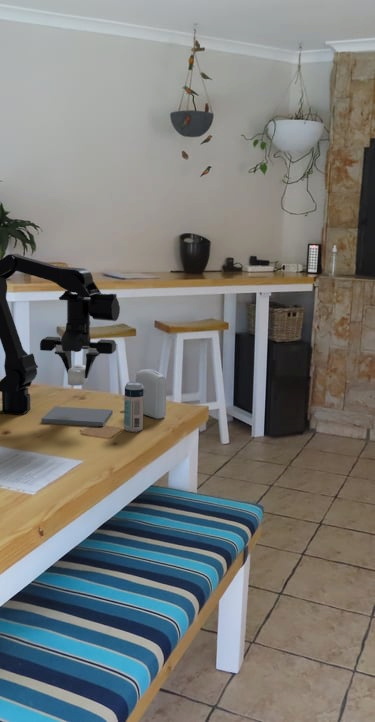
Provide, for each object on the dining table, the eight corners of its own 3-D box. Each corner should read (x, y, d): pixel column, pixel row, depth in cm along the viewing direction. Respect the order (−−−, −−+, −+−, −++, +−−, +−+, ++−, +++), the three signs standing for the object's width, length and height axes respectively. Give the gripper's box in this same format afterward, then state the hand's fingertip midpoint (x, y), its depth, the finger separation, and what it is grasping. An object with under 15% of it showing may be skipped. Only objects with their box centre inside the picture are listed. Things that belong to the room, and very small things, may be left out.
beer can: (145, 428, 176) (146, 382, 173) (138, 433, 171) (139, 386, 169) (128, 426, 177) (129, 380, 175) (120, 431, 173) (121, 384, 170)
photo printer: (132, 411, 191) (133, 367, 189) (145, 409, 194) (146, 365, 191) (155, 420, 183) (156, 374, 181) (168, 417, 186) (169, 372, 184)
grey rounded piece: (66, 385, 176) (66, 371, 176) (77, 375, 187) (77, 362, 187) (81, 386, 176) (81, 372, 175) (91, 376, 187) (92, 363, 186)
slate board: (41, 422, 177) (41, 418, 177) (54, 410, 189) (54, 406, 189) (102, 426, 176) (102, 422, 176) (112, 414, 188) (112, 409, 187)
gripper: (32, 320, 170) (33, 382, 173) (107, 324, 169) (106, 386, 172) (46, 315, 181) (46, 373, 184) (116, 318, 179) (115, 377, 182)
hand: (78, 377), depth 180 cm, fingers closed on grey rounded piece, 4 cm apart
